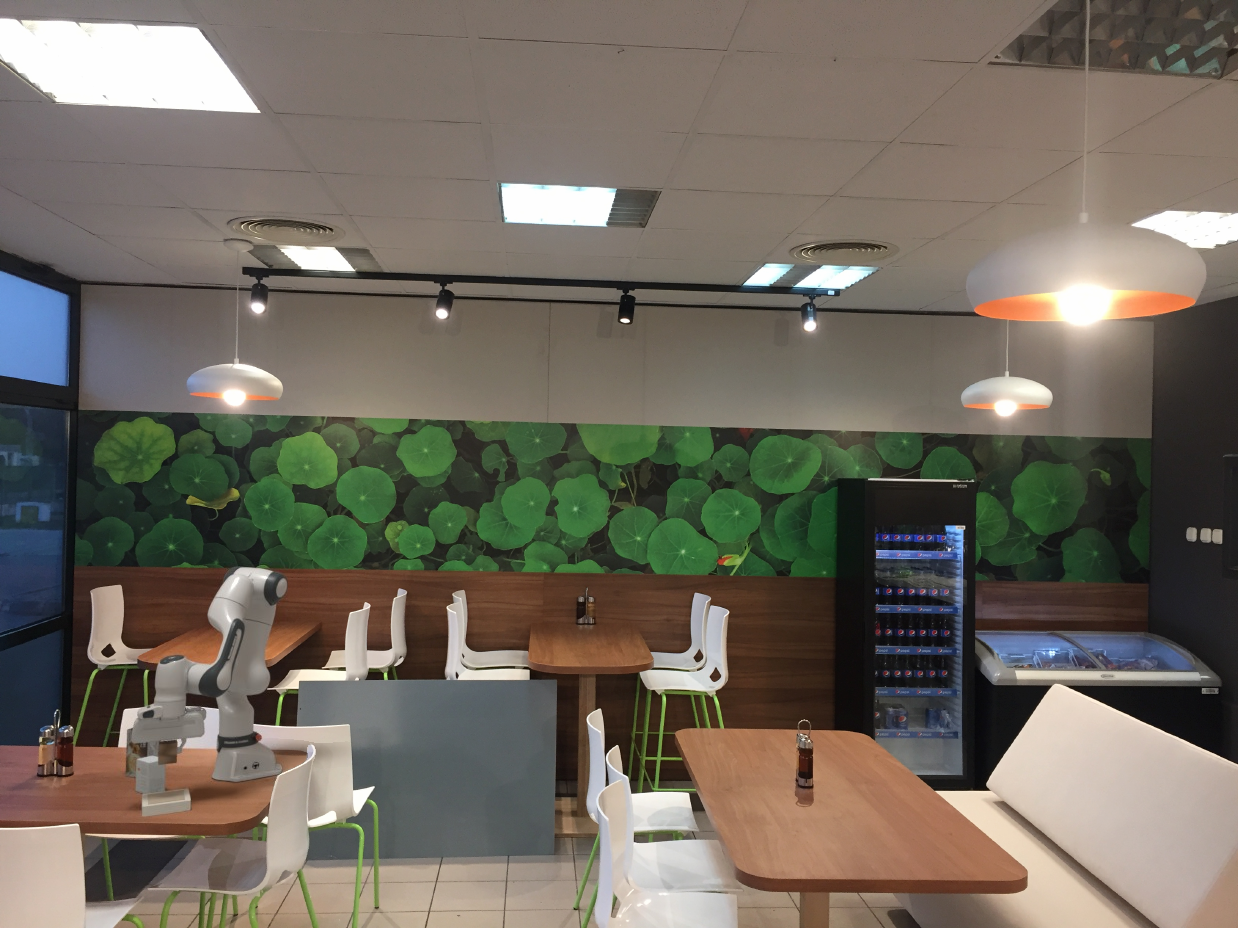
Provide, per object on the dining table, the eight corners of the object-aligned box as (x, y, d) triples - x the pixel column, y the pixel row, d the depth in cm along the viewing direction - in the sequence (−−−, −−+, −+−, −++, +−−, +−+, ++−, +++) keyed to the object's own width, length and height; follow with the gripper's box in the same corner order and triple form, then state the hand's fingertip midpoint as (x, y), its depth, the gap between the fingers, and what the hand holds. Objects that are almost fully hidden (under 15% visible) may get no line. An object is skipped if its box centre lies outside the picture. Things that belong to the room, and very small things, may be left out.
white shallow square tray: (188, 797, 277) (188, 787, 278) (190, 810, 266) (190, 799, 266) (141, 803, 271) (142, 793, 271) (141, 816, 260) (142, 805, 260)
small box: (165, 791, 283) (166, 758, 284) (147, 796, 279) (149, 762, 279) (152, 786, 288) (153, 754, 288) (134, 791, 283) (136, 758, 284)
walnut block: (175, 758, 272) (176, 739, 273) (176, 762, 268) (177, 743, 269) (157, 760, 270) (158, 741, 270) (158, 764, 266) (159, 744, 266)
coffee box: (160, 773, 302) (162, 726, 303) (146, 778, 296) (148, 730, 297) (138, 771, 305) (140, 724, 306) (124, 776, 298) (126, 729, 299)
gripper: (205, 703, 278) (203, 747, 277) (132, 709, 268) (130, 755, 267) (207, 707, 272) (205, 752, 272) (132, 713, 263) (130, 760, 262)
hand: (167, 754), depth 269 cm, fingers closed on walnut block, 5 cm apart
